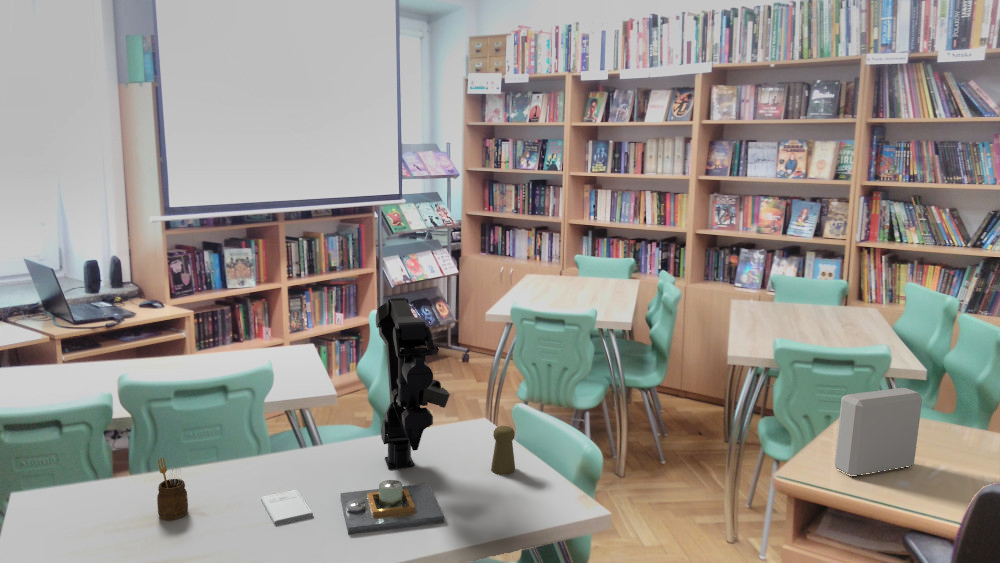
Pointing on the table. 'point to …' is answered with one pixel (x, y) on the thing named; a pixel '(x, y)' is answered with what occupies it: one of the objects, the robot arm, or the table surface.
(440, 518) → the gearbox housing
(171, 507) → the utensil holder
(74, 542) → the table surface
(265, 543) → the table surface
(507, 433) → the cork
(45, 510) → the table surface
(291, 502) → the external hard drive
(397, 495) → the can
